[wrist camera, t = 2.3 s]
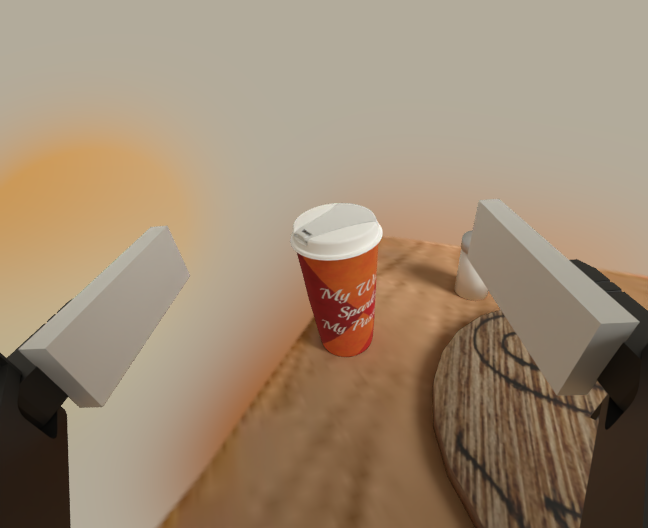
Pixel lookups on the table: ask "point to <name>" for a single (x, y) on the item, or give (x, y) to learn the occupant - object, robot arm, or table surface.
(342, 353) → the paper cup
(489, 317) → the trivet
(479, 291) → the salt shaker
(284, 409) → the table surface
